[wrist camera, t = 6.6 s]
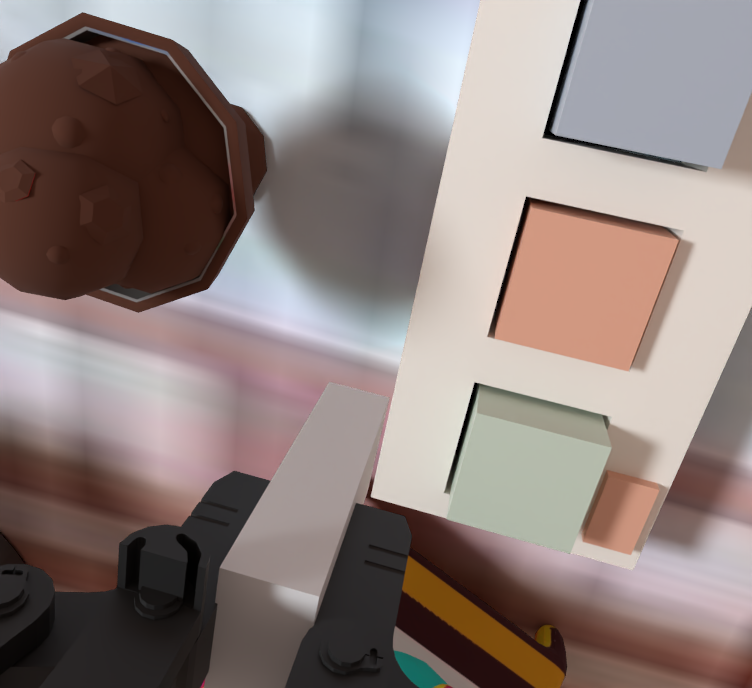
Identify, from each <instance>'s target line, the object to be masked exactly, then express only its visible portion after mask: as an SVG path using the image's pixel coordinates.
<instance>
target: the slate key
mask: <svg viewBox="0 0 752 688" xmlns="http://www.w3.org/2000/svg"><path fill="white" fill-rule="evenodd" d="M751 93H752V0H585V2H584V6H583V9H582V13H581V16H580V20H579V24H578V27H577V31H576V34H575V38H574V41H573V45H572V49H571V52H570V56H569V59H568V63H567V66H566V70H565V74H564V77H563V81H562V84H561V88H560V91H559V95H558V99H557V102H556V106H555V109H554V113H553V117H552V120H551V124H550V127H549V130H550V131H551V132H552V133H554V134H555V135H557V136H562V137H567V138H572V139H576V140H581V141H586V142H591V143H596V144H601V145H606V146H610V147H615V148H620V149H625V150H630V151H635V152H640V153H644V154H649V155H654V156H659V157H664V158H669V159H674V160H678V161H683V162H688V163H693V164H698V165H703V166H707V167H712V168H717V169H722V166H723V164H724V161H725V159H726V156H727V154H728V151H729V149H730V146H731V144H732V141H733V138H734V136H735V133H736V131H737V128H738V126H739V123H740V121H741V118H742V116H743V113H744V110H745V108H746V105H747V103H748V100H749V98H750V95H751Z"/></svg>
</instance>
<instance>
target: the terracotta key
mask: <svg viewBox="0 0 752 688" xmlns="http://www.w3.org/2000/svg"><path fill="white" fill-rule="evenodd" d="M678 241H679V240H678V239H677V238H676V237H675V236H673V235H672V234H671V233H670V232H668V231H667V230H666V229H665V228H664V227H662V226H660V225H656V224H651V223H646V222H642V221H637V220H633V219H628V218H623V217H619V216H614V215H610V214H605V213H601V212H596V211H591V210H587V209H582V208H578V207H573V206H568V205H564V204H559V203H555V202H550V201H545V200H541V199H536V198H532V197H527V201H526V204H525V208H524V212H523V215H522V219H521V222H520V226H519V229H518V233H517V237H516V240H515V244H514V247H513V251H512V255H511V258H510V262H509V265H508V269H507V273H506V276H505V280H504V283H503V287H502V291H501V294H500V298H499V301H498V305H497V309H496V326H495V339H498V340H502V341H506V342H510V343H514V344H518V345H522V346H526V347H531V348H535V349H539V350H543V351H547V352H551V353H555V354H559V355H563V356H567V357H571V358H575V359H580V360H584V361H588V362H592V363H596V364H600V365H604V366H608V367H612V368H616V369H620V370H624V371H629V369H630V366H631V364H632V361H633V358H634V356H635V353H636V351H637V348H638V345H639V343H640V340H641V338H642V335H643V332H644V330H645V327H646V325H647V322H648V319H649V317H650V314H651V312H652V309H653V306H654V304H655V301H656V298H657V296H658V293H659V291H660V288H661V285H662V283H663V280H664V278H665V275H666V272H667V270H668V267H669V265H670V262H671V259H672V257H673V254H674V252H675V249H676V246H677V244H678Z"/></svg>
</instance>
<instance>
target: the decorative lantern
mask: <svg viewBox="0 0 752 688" xmlns="http://www.w3.org/2000/svg"><path fill="white" fill-rule="evenodd" d="M393 649H394V653H395V657H396V660H397V662H398V664H399V666H400V668H401V669H402V671H403V672H404V673H405V675H406V676H407V677H408V678H409V679H410V680H411V682H413V683H414V684H415V685H417V686H418V687H419V688H560V686H561V684H562V682H563V680H564V678H565V676H566V670H567V661H566V651H565V646H564V642H563V638H562V636H561V635H560V633H559V631H558V630H557V629H556V628H555V627H554V626H552V625H544V626H542V627H540V628H539V630H538V631H537V632H536V634H535V639H533V638H531V637H530V636H529V635H527V634H526V633H525V632H523V631H522V630H521V629H519V628H518V627H517V626H515V625H514V624H513V623H511V622H510V621H509V620H507V619H506V618H505V617H503V616H502V615H501V614H499V613H498V612H496V611H495V610H494V609H492V608H491V607H490V606H488V605H487V604H486V603H484V602H483V601H482V600H480V599H479V598H478V597H476V596H475V595H474V594H472V593H471V592H470V591H468V590H467V589H466V588H464V587H463V586H462V585H460V584H459V583H458V582H456V581H455V580H454V579H452V578H451V577H449V576H448V575H447V574H445V573H444V572H443V571H441V570H440V569H439V568H437V567H436V566H435V565H433V564H432V563H431V562H429V561H428V560H427V559H425V558H424V557H423V556H421V555H420V554H419V553H417V552H416V551H415V550H413V549H412V548H411V547H410V549H409V555H408V560H407V565H406V571H405V575H404V581H403V587H402V592H401V597H400V603H399V608H398V613H397V619H396V624H395V629H394V635H393ZM204 683H205V680H204V682H203V684H202V686H201V688H204Z"/></svg>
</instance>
